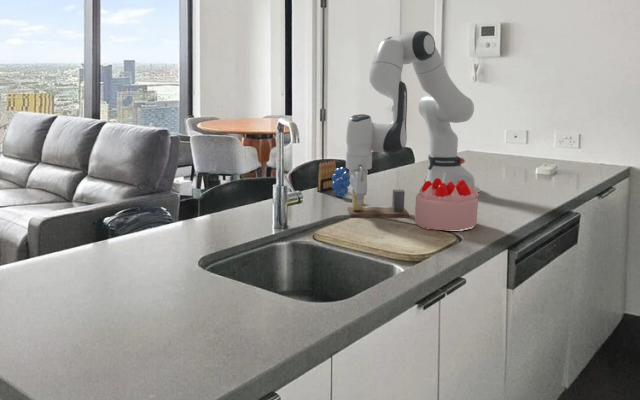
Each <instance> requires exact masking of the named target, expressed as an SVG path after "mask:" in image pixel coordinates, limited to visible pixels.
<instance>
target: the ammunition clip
mask: <svg viewBox="0 0 640 400" xmlns="http://www.w3.org/2000/svg"><path fill="white" fill-rule="evenodd" d="M336 169H337V164H336V159H334V160H328V162H327V161H322V162H321V161H320V162H319V165H318V178H317V185H316V186H317V188H316V190H317V191H316V192H318V193H324V192H328V191H332V190H333V191H334V189H333V188H332V187H331V184H332V183H333V182H334V181H333V180H332V176H333V175H334V174H335V173H334V172H335V170H336Z"/></svg>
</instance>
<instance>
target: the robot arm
mask: <svg viewBox="0 0 640 400" xmlns="http://www.w3.org/2000/svg"><path fill="white" fill-rule="evenodd" d="M371 62H372V63H371V66H370V70H369V71H370V72H369V82H370V85H371V87H372V88H373V89H374V90H375V91H376V92H378V93H379V94H380V95H383V96H386V97H387V98H390V99H391V100H392V101H393V103H392V104H393V105H392V106H393V107H392V121H391V122H390V123H388V124H387V123H376V122H375V123H374V122H372V121H373V120H372V117H371V115H368V114H355V115H352V116H350V117H349V118H348V121H347V126H346V146H347V148H346V153H345V169H346V170H347V169H348V170H349V171H348V173H349V180H350V186H351V188H352V190H353V189H354V191H355V193H356V204H357V205H361V204H362V196H363V195H364V196H366V195H367V192H368V173H369V171H368V170H371V169H372V168H373V166H372V165H373V152H378V153H379V152H380V153H386V154H390V155H391V154H392V155H397V154H399V153H400V152H402V151H403V150H404V149H405V148H406V145H407V141H408V140H407V136H408V135H407V116H408V115H407V114H408V113H407V112H408V88H407V85H406V83H405V82H403V81H402V72H403V66H404V65H409V64H412V66H413V67H412V68H413V69H414V72H415V74H416V77H417V79H418V82H419V84H420V86H421V89H422V90H423V91H424V92H425V93H427V94H425V95H423V96H422V97H421V98H420V100H419V102H418V112H419V114H420V116H421V117H422V118H423V119H424V121H425V123H426V126H427V129H428V134H429V155H428V156H427V157H428V159H427V177H426V179H425V180H426V181H430V182H431V183H433V181H434V180H435V179H436V178H439V179H441V181H442V183H445V184H446V186H447V184H448V183H449V182H450V178H451V179H452V181H453V183H454V184H455V185H457V183H458V182H459V181H460V180H464V181H465V182H466V184H467V185H468V187H470V185H471V183H472V186H473V187H474V188H475V189H476V190H477V191H478V192H479V193H481V189H480V188H479V186H476V183H475V178H474V176H473V174H472V173H471V172H470V171H469V170H467V169H466V168H465V167H464V166H462V164H464V163H465V158H463V157H460V156H458V145H459V144H458V143H459V138H458V135H457V134H456V133H455V132H454V130H453V128H452V127H451V123H453V124H456V123H457V124H458V123H465V122H467V121H469V120H470V119H471V118H472V116H473V115H474V112H475V105H474V102H473V100H472V99H471V98H470V97H468V96H467V95H465V94H464V93H463V92H462V91H461V90H460V89H459V88H458V87H457V86H456V84H455V83H454V81H453V80H452V79H451V77H450V76H449V74H448V71H447V69H446V65H445V63H444V61H443V59H442V57H441V55H440V52H439V50H438V48H437V47H436V40H435V39H434V37H433V35H432V34H431V33H430V32H429V31H425V30H419V31H411V32H410V31H409V32H405V33H402V34H398V35H395V36H389V37H387V38H385V39H384V40H382V41H381V42H380V43H379V45H378V47H377V49H376V51H375V54H374V55H373V59H372V61H371Z"/></svg>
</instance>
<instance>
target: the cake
mask: <svg viewBox="0 0 640 400" xmlns="http://www.w3.org/2000/svg"><path fill="white" fill-rule="evenodd" d="M426 180H427V179H424V183H423V185H422V186H421V188H420V189H419V192H418V193H417V194H416V195H415V207H414V208H415V210H414V211H415V212H414V214H415V215H414V222H415V225H416V224H417V225H416V226H418V227H419V226H420V228H422V227H424V228H423V229H425V228H429V229H436V230H446V231H447V230H448V231H449V230H460V229H465V228H469V227H472V226H475V225H476V226H477V222H478V208H479V206H478V204H479V198H478V197H479V196H480V192H479V193H478V191H477V190H476V189H475V188H474V187H473V186H472V183H471V185H470V187H468V185H467V184H466V182H465V181H464V180H460V181H459V182H458V183H457V185H455V184H454V183H453V181H452V179H451V178H450V182H449V183H448V184H447V186H446V184H445V183H442V181H441V179H439V178H436V179H435V180H434V181H433V183H431V182H430V181H426ZM429 229H428V230H429Z"/></svg>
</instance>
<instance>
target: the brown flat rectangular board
mask: <svg viewBox="0 0 640 400" xmlns="http://www.w3.org/2000/svg"><path fill="white" fill-rule="evenodd" d="M347 211H348V215H349V217H350V218H410V213H409V212H408V210H407V208H405V207H404V212H394V211H393V210H392V206H364V207H363V210H353V209H352V206H347Z"/></svg>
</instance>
